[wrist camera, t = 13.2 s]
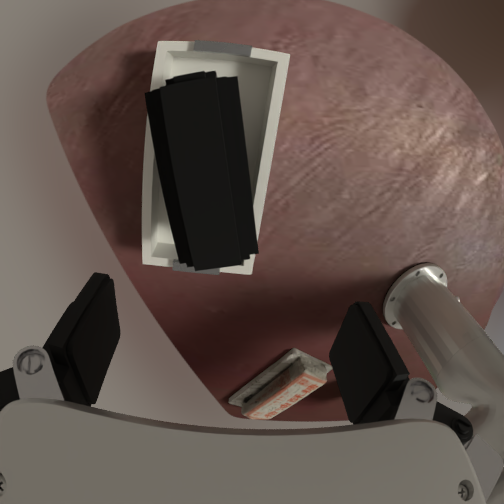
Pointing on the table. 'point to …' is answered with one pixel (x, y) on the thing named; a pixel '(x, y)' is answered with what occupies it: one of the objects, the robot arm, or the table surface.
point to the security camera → (204, 168)
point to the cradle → (255, 128)
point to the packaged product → (281, 385)
